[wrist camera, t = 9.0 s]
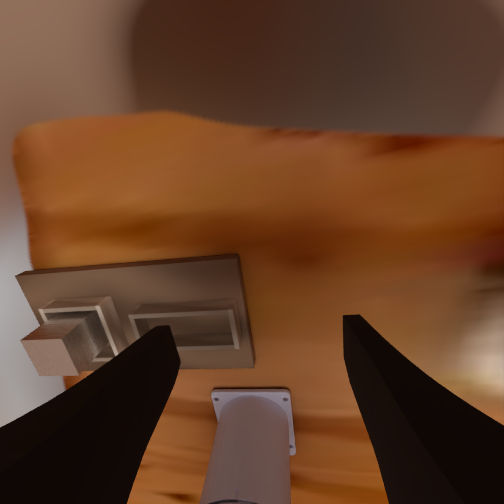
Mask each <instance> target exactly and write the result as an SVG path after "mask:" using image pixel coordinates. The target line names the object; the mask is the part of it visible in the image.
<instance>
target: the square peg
mask: <svg viewBox="0 0 504 504" xmlns="http://www.w3.org/2000/svg"><path fill="white" fill-rule="evenodd" d="M21 343H22V344H23V346H24V348H25V350H26V352H27V354H28V355H29V357H30V359H31V361H32V363H33V364H34V366H35V368H36V370H37V372H38V373H39V375H40V376H75V375H80V374H81V373H82V372H83V371H84V369H85V368H86V367H87V366H88V365H89V364H90V363H91V362H92V361H93V359H94V358H95V357H96V356H97V355H98V354H99V353H100V352H101V351H102V349H103V348H104V347H105V346H106V345H107V344H108V343H109V339H108V337H107V335H106V332H105V330H104V327H103V325H102V322H101V320H100V317H99V315H98V312H97V310H91V311H72V312H59V313H57V314H56V315H55V316H53V317H52V318H50V319H49V320H48V321H46V322H45V323H44V324H42V325H41V326H39V327H38V328H37V329H35V330H34V331H33V332H31V333H30V334H29V335H27V336H26V337H24V338H23V339H22V340H21Z"/></svg>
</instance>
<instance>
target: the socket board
mask: <svg viewBox="0 0 504 504" xmlns="http://www.w3.org/2000/svg"><path fill="white" fill-rule="evenodd" d="M15 277H16V279H17V281H18V283H19V285H20V287H21V289H22V291H23V293H24V295H25V297H26V299H27V301H28V302H29V304H30V307H31V308H32V310H33V312H34V314H35V316H36V318H37V320H38V322H39V324H40V326H41V325H42V324H44V323H45V322H46V321H48V320H49V319H50V318H52V317H53V316H55V315H56V314H57V313H59V312H72V311H91V310H97V312H98V315H99V317H100V320H101V322H102V325H103V327H104V330H105V332H106V335H107V337H108V339H109V343H108V344H107V345H106V346H105V347H104V348H103V349H102V351H101V352H100V353H99V354H98V355H97V356H96V357H95V358H94V359H93V361H92V362H91V363H90V364H89V365H88V366H87V367H86V368H85V369H84V371H96V370H97V369H98V368H100V367H101V366H103V365H104V364H105V363H107V362H108V361H110V360H111V359H112V358H114V357H115V356H116V355H118V354H119V353H120V352H122V351H123V350H124V349H126V348H127V347H128V346H129V345H131V344H132V343H133V342H135V341H136V340H137V339H139V338H140V337H141V336H143V335H144V334H145V333H147V332H148V331H150V330H151V329H152V328H154V327H156V326H162V325H170V328H171V331H172V334H173V337H174V341H175V344H176V347H177V350H178V353H179V357H180V360H181V364H180V368H179V369H229V368H254V365H255V356H254V349H253V343H252V337H251V330H250V324H249V318H248V311H247V305H246V299H245V292H244V286H243V280H242V273H241V267H240V261H239V254H228V255H216V256H204V257H191V258H179V259H167V260H155V261H143V262H130V263H118V264H106V265H94V266H82V267H69V268H57V269H45V270H33V271H25V272H23V273H20V274H18V275H16V276H15Z"/></svg>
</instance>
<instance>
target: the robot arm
mask: <svg viewBox="0 0 504 504" xmlns="http://www.w3.org/2000/svg"><path fill="white" fill-rule="evenodd" d="M343 347H344V360H345V364H346V369H347V373H348V377H349V381H350V384H351V387H352V390H353V393H354V395H355V398H356V401H357V404H358V407H359V409H360V412H361V415H362V418H363V420H364V423H365V426H366V429H367V432H368V434H369V437H370V440H371V443H372V445H373V448H374V452H375V455H376V458H377V461H378V464H379V468H380V472H381V475H382V479H383V483H384V487H385V490H386V494H387V498H388V501H389V504H504V426H503V425H502V424H500V423H499V422H497V421H495V420H494V419H492V418H491V417H489V416H487V415H486V414H484V413H482V412H481V411H479V410H478V409H476V408H474V407H473V406H471V405H470V404H468V403H467V402H465V401H464V400H462V399H461V398H459V397H458V396H456V395H455V394H453V393H452V392H451V391H449V390H448V389H446V388H445V387H443V386H442V385H441V384H439V383H438V382H436V381H435V380H434V379H432V378H431V377H429V376H428V375H427V374H426V373H424V372H423V371H422V370H421V369H419V368H418V367H417V366H416V365H414V364H413V363H412V362H411V361H409V360H408V359H407V358H406V357H405V356H403V355H402V354H401V353H400V352H399V351H398V350H397V349H396V348H394V347H393V346H392V345H391V344H390V343H389V342H388V341H387V340H386V339H384V338H383V337H382V336H381V335H380V334H379V333H378V332H377V331H376V330H375V329H374V328H373V327H372V326H371V325H370V324H369V323H368V322H367V321H366V320H365V319H364V318H363V317H362V316H361V315H359V314H358V315H343ZM180 364H181V360H180V357H179V353H178V350H177V347H176V344H175V341H174V337H173V334H172V331H171V328H170V325H162V326H156V327H154V328H152V329H151V330H150V331H148V332H147V333H145V334H144V335H143V336H141V337H140V338H139V339H137V340H136V341H135V342H133V343H132V344H131V345H129V346H128V347H127V348H126V349H124V350H123V351H122V352H120V353H119V354H118V355H116V356H115V357H114V358H112V359H111V360H110V361H108V362H107V363H105V364H104V365H103V366H101V367H100V368H98V369H97V370H96V371H94V372H93V373H91V374H90V375H89V376H87V377H86V378H84V379H83V380H81V381H80V382H78V383H77V384H75V385H74V386H72V387H71V388H69V389H67V390H66V391H64V392H63V393H61V394H59V395H58V396H56V397H55V398H53V399H51V400H50V401H48V402H46V403H45V404H43V405H41V406H39V407H37V408H35V409H34V410H32V411H30V412H28V413H27V414H25V415H23V416H21V417H19V418H18V419H16V420H14V421H12V422H10V423H8V424H6V425H4V426H2V427H0V504H127V501H128V498H129V495H130V492H131V489H132V486H133V483H134V480H135V477H136V475H137V472H138V469H139V466H140V463H141V460H142V457H143V455H144V452H145V450H146V447H147V445H148V443H149V440H150V438H151V436H152V434H153V431H154V429H155V427H156V425H157V423H158V420H159V418H160V416H161V414H162V412H163V409H164V407H165V405H166V403H167V400H168V398H169V396H170V394H171V391H172V389H173V387H174V384H175V381H176V378H177V375H178V371H179V368H180ZM211 397H212V401H213V405H214V409H215V413H216V417H217V421H218V426H217V430H216V434H215V439H214V443H213V447H212V452H211V456H210V460H209V465H208V469H207V473H206V478H205V482H204V486H203V491H202V495H201V499H200V504H291V486H290V455H295V454H296V447H295V437H294V427H293V417H292V408H291V398H290V392H289V390H287V389H215V390H213V391H212V393H211Z"/></svg>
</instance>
